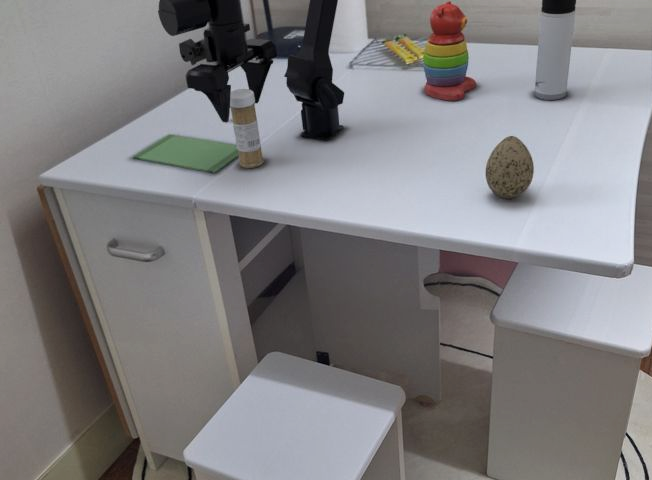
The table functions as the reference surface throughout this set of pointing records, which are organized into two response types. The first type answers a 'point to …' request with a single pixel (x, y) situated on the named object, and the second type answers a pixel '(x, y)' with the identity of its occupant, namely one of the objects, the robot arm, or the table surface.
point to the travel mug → (554, 48)
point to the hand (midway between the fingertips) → (240, 112)
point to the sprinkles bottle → (246, 128)
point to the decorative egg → (509, 168)
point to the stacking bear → (447, 55)
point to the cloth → (190, 153)
